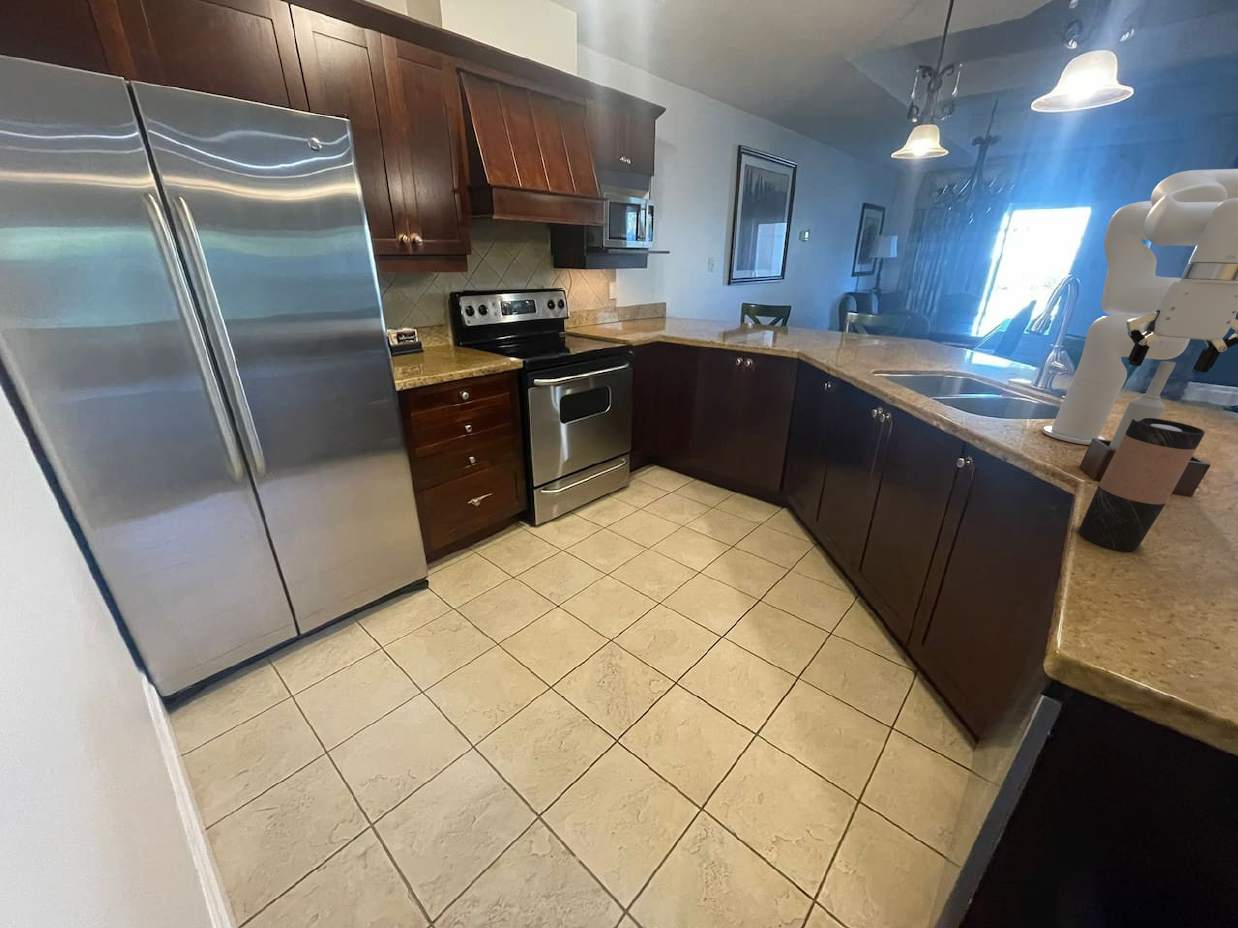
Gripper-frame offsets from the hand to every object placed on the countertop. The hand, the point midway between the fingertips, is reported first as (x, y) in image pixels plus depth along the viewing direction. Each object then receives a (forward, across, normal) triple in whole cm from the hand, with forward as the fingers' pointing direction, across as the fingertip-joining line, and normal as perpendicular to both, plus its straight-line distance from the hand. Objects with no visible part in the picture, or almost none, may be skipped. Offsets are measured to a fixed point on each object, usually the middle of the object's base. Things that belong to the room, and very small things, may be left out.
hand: (1166, 368), depth 93 cm
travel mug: (+24, +13, +34) cm, 44 cm away
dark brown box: (+24, -4, 0) cm, 24 cm away
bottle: (+24, 0, 0) cm, 24 cm away
